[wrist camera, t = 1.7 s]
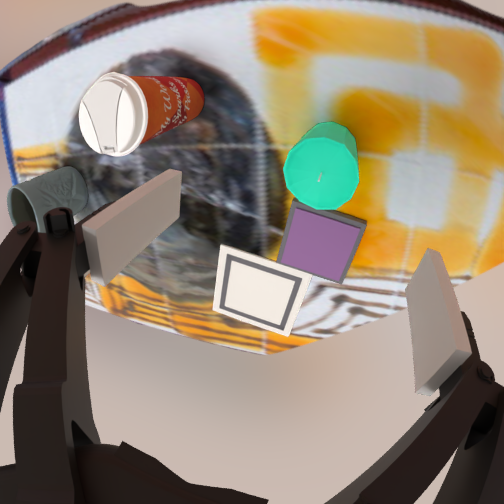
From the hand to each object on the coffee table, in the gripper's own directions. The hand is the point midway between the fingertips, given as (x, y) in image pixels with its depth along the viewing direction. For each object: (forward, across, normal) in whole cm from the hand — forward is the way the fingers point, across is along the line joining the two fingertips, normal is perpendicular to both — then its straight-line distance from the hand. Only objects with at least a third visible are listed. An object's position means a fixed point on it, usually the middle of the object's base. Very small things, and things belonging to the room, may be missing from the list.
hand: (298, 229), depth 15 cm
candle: (+20, 0, 0) cm, 20 cm away
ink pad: (+20, -2, +12) cm, 23 cm away
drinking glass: (+20, +40, +15) cm, 47 cm away
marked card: (+20, +4, +23) cm, 31 cm away
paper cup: (+20, +18, -2) cm, 27 cm away
